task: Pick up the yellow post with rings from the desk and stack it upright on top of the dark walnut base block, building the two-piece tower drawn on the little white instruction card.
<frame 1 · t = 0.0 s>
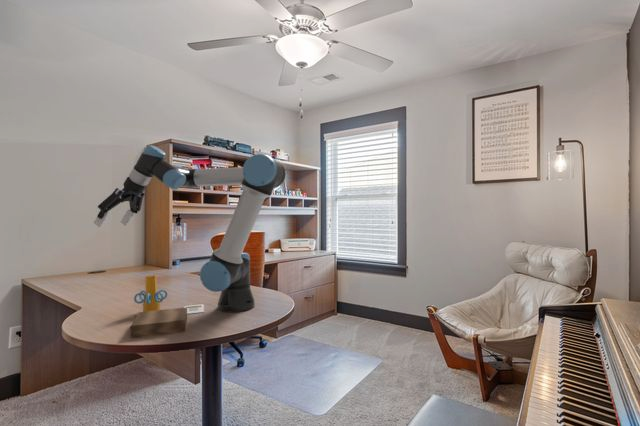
hand: (110, 224, 135), 36 cm above the table, tool tilted 35°, fingers open, 13 cm apart
instruction card: (193, 309, 138), on the table
base block: (161, 327, 116), on the table
yellow post with rings: (151, 313, 134), on the table
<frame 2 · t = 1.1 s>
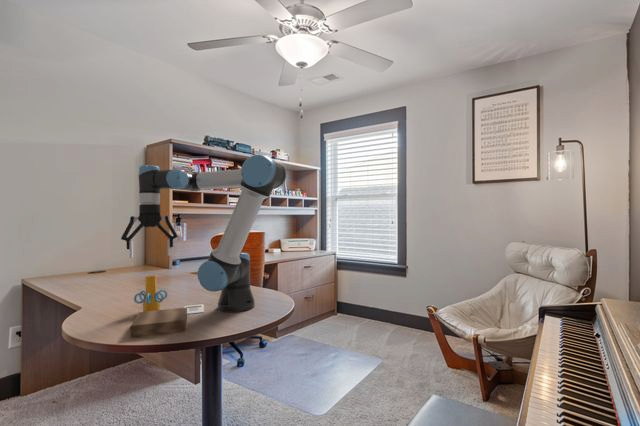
hand: (150, 256, 134), 23 cm above the table, tool pointing down, fingers open, 13 cm apart
nothing on the table moved.
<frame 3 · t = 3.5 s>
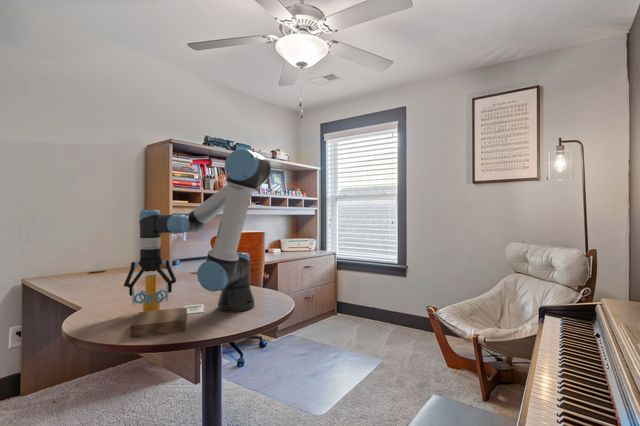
hand: (151, 302, 134), 4 cm above the table, tool pointing down, fingers closed on yellow post with rings, 11 cm apart
yellow post with rings: (151, 313, 134), on the table, touching gripper
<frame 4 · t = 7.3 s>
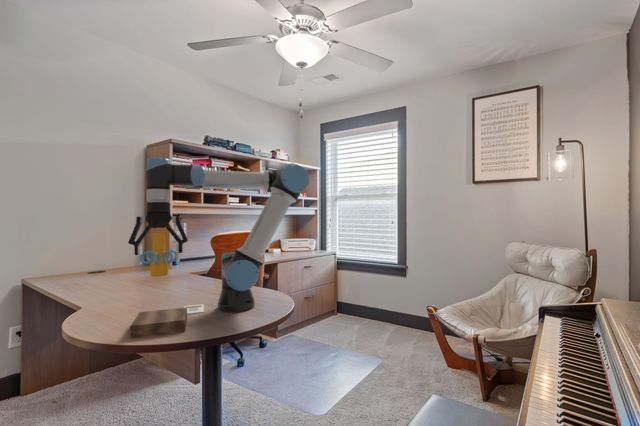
hand: (159, 263, 118), 22 cm above the table, tool pointing down, fingers closed on yellow post with rings, 11 cm apart
yellow post with rings: (159, 275, 118), point 18 cm above the table, touching gripper
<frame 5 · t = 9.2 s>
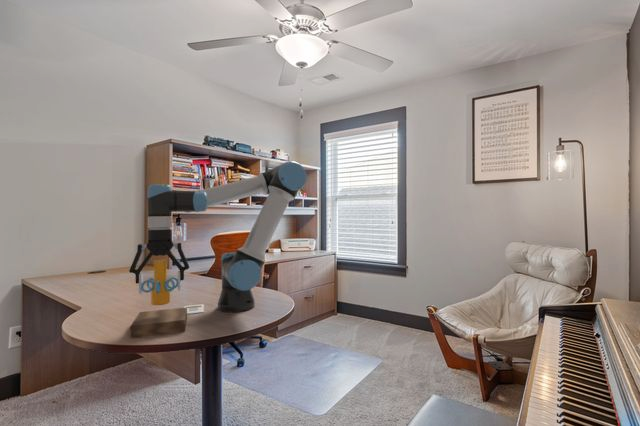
hand: (160, 291, 116), 13 cm above the table, tool pointing down, fingers closed on yellow post with rings, 11 cm apart
yellow post with rings: (160, 303, 116), point 8 cm above the table, touching gripper
when the fingers open (10 cm above the table, at t = 10.9 s): yellow post with rings drops 1 cm, resting on base block.
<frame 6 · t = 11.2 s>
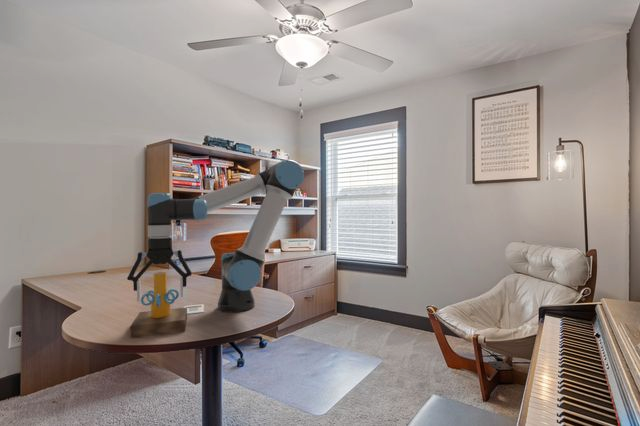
hand: (161, 298, 116), 10 cm above the table, tool pointing down, fingers open, 13 cm apart
yellow post with rings: (161, 316, 116), point 4 cm above the table, touching base block
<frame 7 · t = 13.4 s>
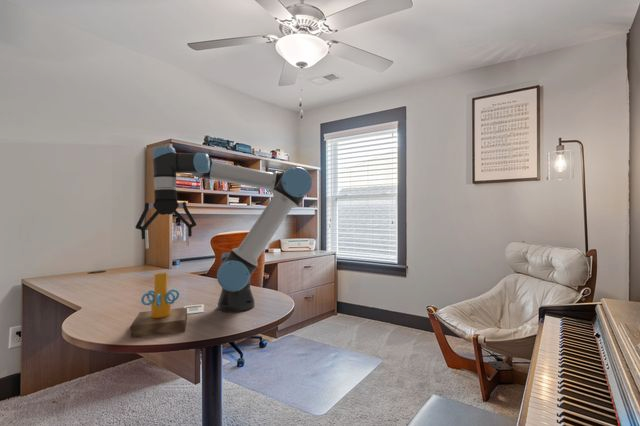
hand: (167, 247, 123), 27 cm above the table, tool pointing down, fingers open, 13 cm apart
nothing on the table moved.
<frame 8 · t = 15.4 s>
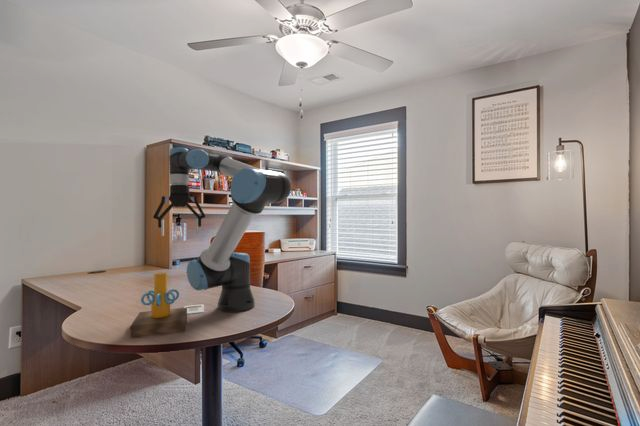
hand: (180, 235, 141), 31 cm above the table, tool pointing down, fingers open, 13 cm apart
nothing on the table moved.
at the end: yellow post with rings inside the target area on the base block (0.0 cm from its centre), point 3.8 cm above the base block's base; yellow post with rings tilted 0°; the gripper is holding nothing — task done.
